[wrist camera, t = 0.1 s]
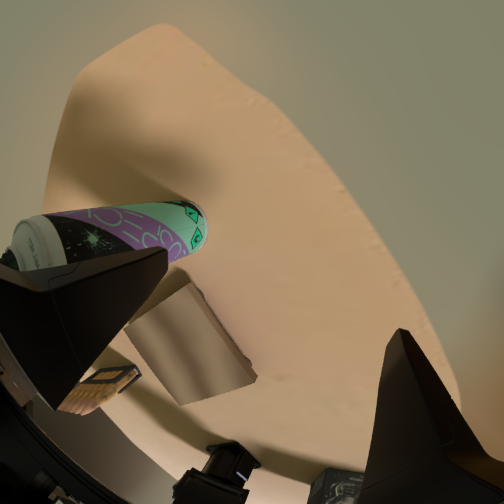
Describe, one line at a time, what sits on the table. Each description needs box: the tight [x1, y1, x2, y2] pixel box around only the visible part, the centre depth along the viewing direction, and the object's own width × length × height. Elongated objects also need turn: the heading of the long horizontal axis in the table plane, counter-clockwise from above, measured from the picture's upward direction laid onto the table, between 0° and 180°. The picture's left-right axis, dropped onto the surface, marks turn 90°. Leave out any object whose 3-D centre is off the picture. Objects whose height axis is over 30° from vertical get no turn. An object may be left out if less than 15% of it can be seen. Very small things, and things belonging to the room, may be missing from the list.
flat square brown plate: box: [123, 282, 258, 406], centre depth 29 cm, size 12×12×2 cm
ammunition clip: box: [58, 365, 142, 415], centre depth 31 cm, size 11×2×12 cm, turn 115°
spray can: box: [0, 201, 209, 271], centre depth 18 cm, size 6×6×20 cm
